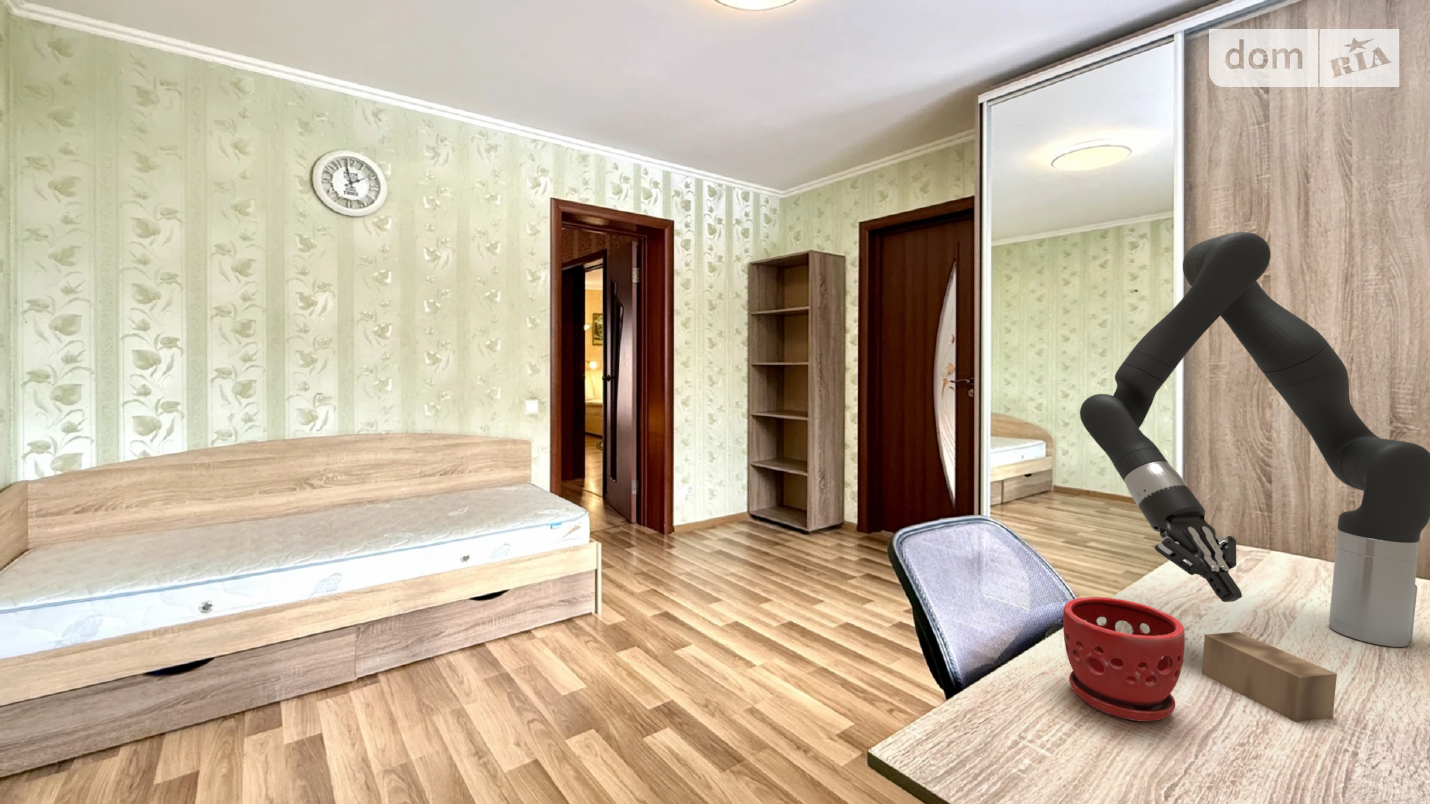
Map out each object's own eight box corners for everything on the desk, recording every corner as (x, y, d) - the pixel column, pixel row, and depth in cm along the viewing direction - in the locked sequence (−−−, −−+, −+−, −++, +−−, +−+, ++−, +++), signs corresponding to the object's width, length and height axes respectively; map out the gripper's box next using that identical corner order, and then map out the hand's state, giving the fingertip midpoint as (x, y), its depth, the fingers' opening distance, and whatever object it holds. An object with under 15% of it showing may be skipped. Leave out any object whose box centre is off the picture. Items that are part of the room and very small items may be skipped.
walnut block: (1238, 631, 88) (1337, 673, 77) (1234, 671, 89) (1332, 719, 77) (1204, 634, 87) (1299, 677, 75) (1201, 674, 88) (1295, 723, 76)
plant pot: (1088, 667, 89) (1094, 587, 88) (1196, 712, 77) (1203, 621, 77) (1039, 692, 82) (1044, 605, 81) (1150, 745, 70) (1157, 645, 70)
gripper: (1142, 484, 94) (1213, 590, 82) (1214, 482, 96) (1293, 586, 85) (1112, 509, 99) (1175, 612, 88) (1181, 507, 101) (1251, 608, 90)
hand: (1233, 599), depth 86 cm, fingers closed
